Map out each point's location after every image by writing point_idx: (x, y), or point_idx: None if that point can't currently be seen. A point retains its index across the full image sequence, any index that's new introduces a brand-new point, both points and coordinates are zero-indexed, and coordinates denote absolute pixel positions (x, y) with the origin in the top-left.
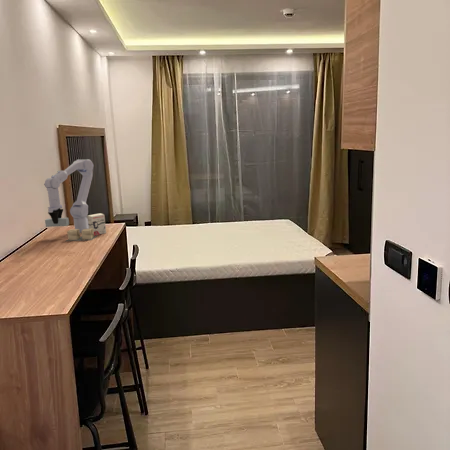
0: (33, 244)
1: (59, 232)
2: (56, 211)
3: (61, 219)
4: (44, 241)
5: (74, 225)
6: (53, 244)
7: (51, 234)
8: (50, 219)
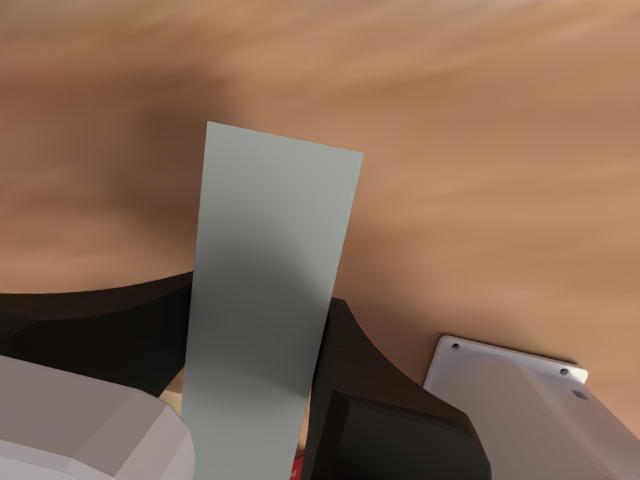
0: (111, 49)
1: (586, 199)
2: (310, 471)
3: (182, 415)
4: (206, 131)
5: (499, 401)
6: (81, 235)
7: (521, 129)
8: (219, 236)
